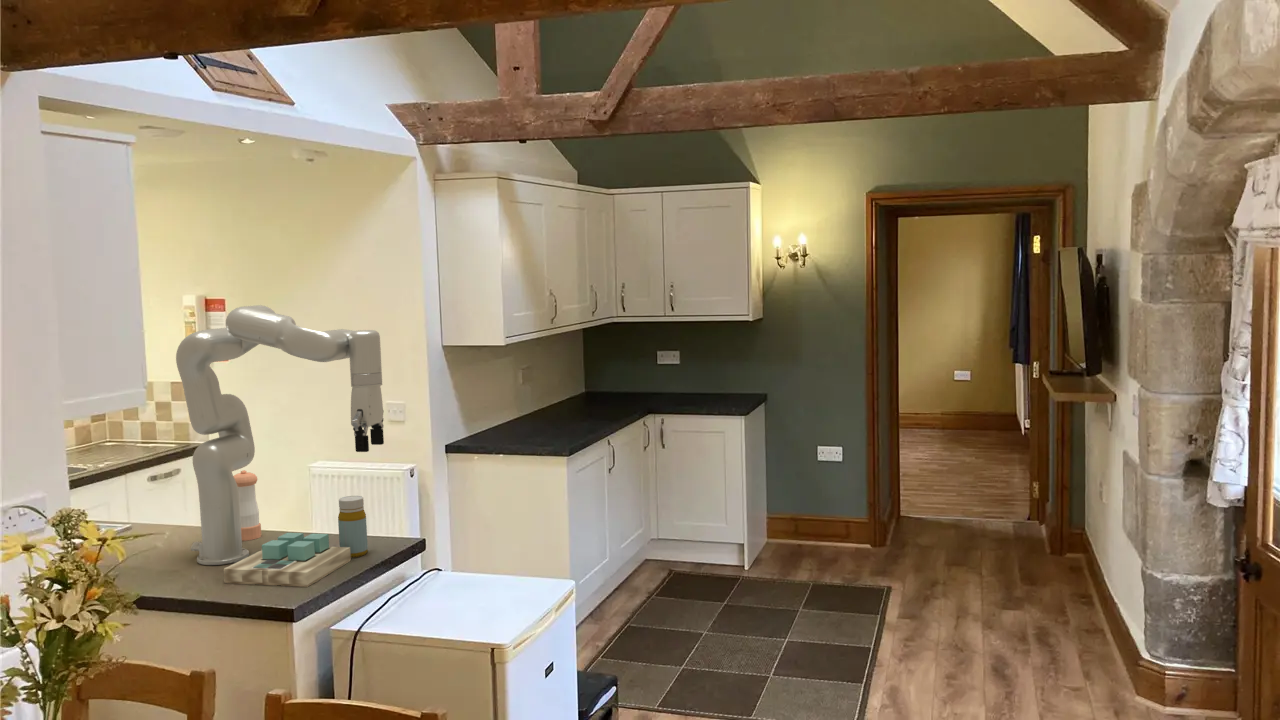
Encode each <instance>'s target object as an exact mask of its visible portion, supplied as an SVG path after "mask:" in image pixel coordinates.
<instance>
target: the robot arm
mask: <svg viewBox="0 0 1280 720" xmlns="http://www.w3.org/2000/svg"><path fill="white" fill-rule="evenodd" d="M258 345H262V346H267V347H270V348H275V349H278V350H281V351H282V352H284V353H286V354H289V355H291V356H293V357H297V358H300V359H304V360H309V361H312V362H318V363H328V362H333V361H340V360H345V359H349V371H350V387H351V391H350V393H351V394H350V425H351V427H352V430H353V431H354V432H353V434H354V435H353V436H354V443H355V444H354V445H355V447H354V448H355V452H356V453H368V452H369V451H370V447H369V446H370V444H371V446H372V445H374V446H375V445H376V446H378V445H380V446H382V445H384V443H385V442H384V439H385V438H384V423H383V422H384V404H383V403H384V402H383V396H382V395H383V394H382V387H381V386H383V372H382V368H383V367H382V352H381V350H382V349H381V335H380V333H379V332H378V331H377V330H375V329H374V330H373V329H363V330H361V329H358V330H353V329H352V330H351V329H343V328H339V329H338V328H337V329H332V330H330V329H329V330H322V331H321V330H314V329H311V328H307V327H302V326H299V325H297V323H296V321H295V319H294V318H293V317H291V316H290V315H285V314H281V313H277V312H275V310H273V309H272V308H271V307H268V306H266V305H261V304H260V305H259V304H258V305H246V306H245V305H244V306H239V307H235V308H233V309H232V310H231V311H230V312H229V313H228V314H227V316H226V318H225V327H221V328H211V329H210V328H209V329H208V328H207V329H204V330H203V329H202V330H199V331H195V332H192V333H191V334H188V335H187V336H185V338H183V339H182V340H181V342H180V343H179V345H178V347H177V349H176V354H175V364H176V367H177V371H178V374H179V377H180V381H181V383H182V388H183V392H184V398H185V401H186V402H185V403H186V407H187V411H188V418H189V421H190V425H191V427H192V429H193V431H194V432H196V433H197V434H200V435H203V436H206V435H214V434H216V433H217V434H218V437H217V438H213V439H208V440H206V441H204V442H202V443H201V444H199V445H198V446H197V447H196V449H195V450H194V452H193V455H192V466H193V467H192V468H193V471H194V473H195V477H196V482H197V483H196V484H197V489H198V501H199V512H200V513H199V514H200V526H201V541H193V543H192V544H191V546H190V551H191V552H199V554H198V555H197V557H196V561H197V563H198V564H199V565H205V566H219V565H221V566H222V565H226V564H227V565H228V564H234V563H237V562H239V561H241V560H243V559H245V558H247V557H249V556H250V552H249V550H248V549H247V548H245V547H243V541H242V536H241V520H240V505H239V492H238V486H237V483H236V481H235V479H234V477H233V476H234V475H233V472H235V471H238V470H239V469H240V470H241V469H243V468H245V467H247V466H248V465H250V464H252V463H251V462H252V461H253V460H254V457H255V452H256V450H255V447H256V446H255V442H254V441H255V440H254V437H253V436H254V435H253V431H252V426H251V422H250V418H249V413H248V410H247V407H246V405H245V403H244V402H243V401H242V399H241V398H240V397H238V396H236V395H234V394H231V393H224V394H223V393H222V392H221V387H220V382H219V378H218V376H217V374H216V372H215V371H214V370H213V369H212V367H211V365H212V364H213V363H215V362H222V361H223V362H224V361H230V360H231V361H232V360H235V359H238V358H240V357H242V356H243V355H245V354H246V353H248V352H249V351H251V350H253V349H254V348H256V347H257V346H258ZM370 427H371V429H369V428H370ZM368 430H370V431H369V432H370V442H369V435H368ZM369 443H370V444H369Z"/></svg>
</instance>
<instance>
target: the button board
mask: <svg viewBox="0 0 1280 720" xmlns="http://www.w3.org/2000/svg"><path fill="white" fill-rule="evenodd" d="M351 561H352V558H351V554H350V547H340V546H329V548H327V549H325V550H324V551H322V552H315V555H314V556H313V557H311V558H309V559H307V560H305V561H302V560H288V555H287V556H285V557H283V558H281V559H280V560H277V559H263V558H262V549H261V550H259V551H257V552H255V553H252V554H251V555H249V556H248V557H247V558H245V559H243V560H240V561H237V562H234V563H232V564H230V565H229V566H226V567H224V568H223V582H224V584H239V585H255V584H259V585H262V586H277V585H281V586H280V587H282V586H283V587H303V588H308V587H310V586H312V585H313V584H315V583H317V582H318V581H320V580H322V579H324V577H326V576H328V575H329V574H331V573H334V572H335V571H336V570H338V569H340V568H341V567H343V566H344V565H347V564H348V563H350V562H351ZM259 585H258V586H259Z"/></svg>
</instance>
